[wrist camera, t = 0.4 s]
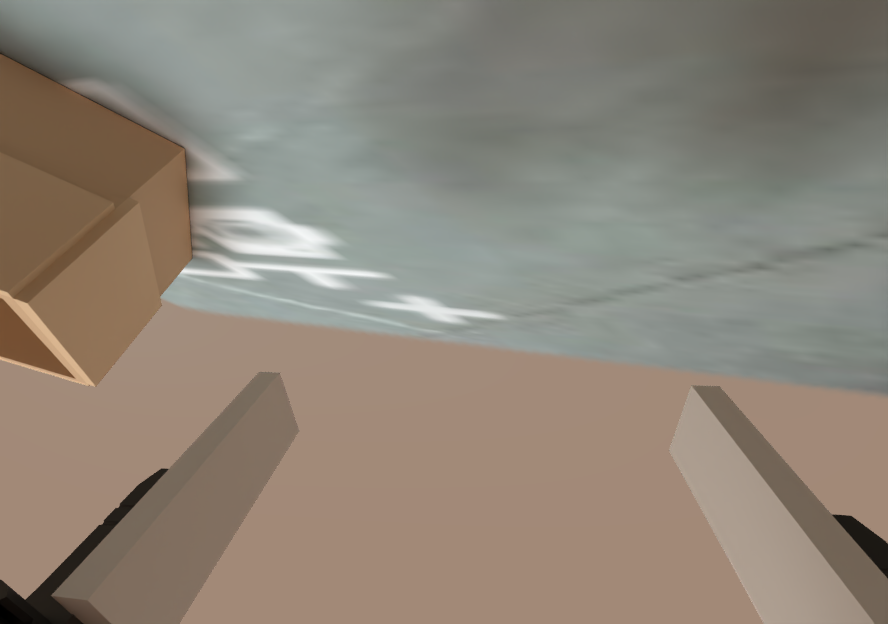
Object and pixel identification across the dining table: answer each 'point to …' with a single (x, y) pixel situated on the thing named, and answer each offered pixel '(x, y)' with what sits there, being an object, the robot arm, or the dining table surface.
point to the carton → (82, 227)
